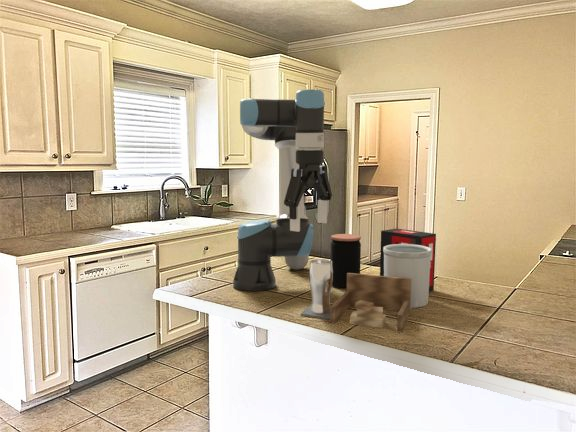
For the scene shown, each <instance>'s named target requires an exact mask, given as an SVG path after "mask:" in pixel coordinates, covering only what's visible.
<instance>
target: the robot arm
mask: <svg viewBox="0 0 576 432" xmlns="http://www.w3.org/2000/svg"><path fill="white" fill-rule="evenodd" d="M325 105H326V102H325V93H324V91H323V90H321V89H299V90H297V91H296V93H295V99H267V98H265V99H264V98H263V99H262V98H254V97H253V98H243V99H241V100H240V102H239V122H240V125H241V127H242V129H243V131H244V133H246V135H249V136H250V137H252V138H254V139H258V140H262V141H274V146H275V147H276V148H277V149H278V151H279V152H278V153H279V155H278V157H279V158H278V159H279V161H278V163H279V165H278V167H279V203H280V204H279V212H280V214H279V215H278V216H277V218H276V220H275V221H276V223H274V224H272V222H271V220H269V219H256V220H251V221H247V222H244V223H241V224H240V225H239V226H238V228H237V236H236V238H237V266H236V270H235V273H234V277H233V280H232V282H233V283H232V285H233V286H232V287H233V288H234V289H236V290H240V291H244V292H259V291H267V290H271V289H273V288H275V287H276V276H275V273H274V270H273V267H272V265H271V259H272V258H273V257H274V258H275V257H276V258H280V257H284V258H285V257H290V256H295V257H297V256H306V255H308V254H309V255H310V252H311V250H312V245H313V242H314V225H313V224H312V223H309V217H306V216H307V215H306V216H305V214H304V205H305V202H304V201H305V199H304V196H305V195H304V194H305V190H306V188H307V187H309V185H312V186H313V188H314V190H315V192H316V194H317V196H318V197H319V199H318V200H317V223H319V224H320V223H321V224H327V223H328V201H331V200H332V197H333V192H332V188H331V185H330V182H329V176H328V171H327V166H326V165H322V164H323V163H324V158H325V157H324V156H325V155H324V152H325V151H324V150H322V149H323V148H324V143H325V142H324V141H325V137H324V133H325V131H324V130H325Z"/></svg>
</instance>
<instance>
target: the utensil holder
mask: <svg viewBox="0 0 576 432" xmlns="http://www.w3.org/2000/svg"><path fill="white" fill-rule="evenodd" d="M383 252H384V276H388V277H399V278H410V279H411V307H410V309H414V308H422V307H425V306H427V305H428V303H429V297H430V295H429V294H430V292H429V276H430V255H431V253H432V250H431V248H429V247H426V246H421V245H414V244H392V245H387V246H384V247H383Z"/></svg>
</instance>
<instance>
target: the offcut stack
mask: <svg viewBox="0 0 576 432" xmlns="http://www.w3.org/2000/svg"><path fill="white" fill-rule="evenodd" d="M354 308H355V309H356V310H354V311H352V313H351V314H350V315H349V324H350V325H358V326H365V327H372V328H380V329H383V328H384V326H385V324H386V321H387V319H386V317H387V316H386V314H384V309H383V307H373V303H372V302H367V301H362V300H360V301H358V302H356V303H355V306H354Z"/></svg>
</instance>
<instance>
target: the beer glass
mask: <svg viewBox="0 0 576 432" xmlns="http://www.w3.org/2000/svg"><path fill="white" fill-rule="evenodd" d="M308 276H309V277H308V281H309V287H310V288H309V289H310V294H311V304H310V305H311V309H310V311H311V312H312V313H315V314H328V313H330V312H331V308H330V307H331V301H330V300H331V299H330V298H331V293H332V287H333V286H332V281H333V266H332V261H331V259H325V258H316V259H311V260H310V261H309V269H308Z"/></svg>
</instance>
